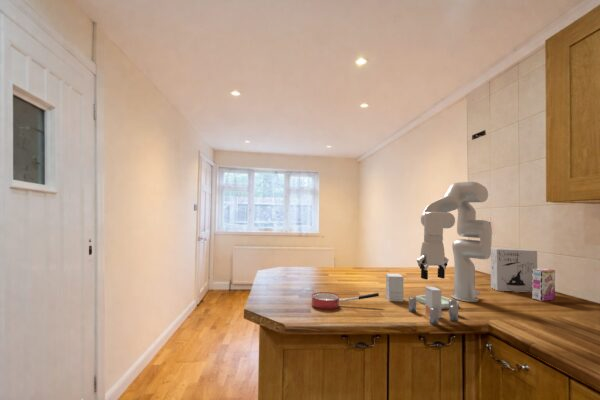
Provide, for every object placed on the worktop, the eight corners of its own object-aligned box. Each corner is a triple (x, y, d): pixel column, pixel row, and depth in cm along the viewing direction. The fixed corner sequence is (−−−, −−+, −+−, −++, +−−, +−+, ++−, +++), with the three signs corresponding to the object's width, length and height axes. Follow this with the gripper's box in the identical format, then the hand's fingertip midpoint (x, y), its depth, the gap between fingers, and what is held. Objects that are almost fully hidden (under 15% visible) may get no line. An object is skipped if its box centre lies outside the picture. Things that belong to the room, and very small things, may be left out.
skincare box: (424, 313, 124) (424, 286, 124) (433, 313, 124) (433, 286, 125) (432, 318, 118) (432, 290, 118) (441, 318, 118) (441, 290, 119)
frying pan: (371, 300, 141) (371, 287, 141) (381, 309, 128) (382, 295, 128) (309, 301, 137) (309, 288, 137) (314, 310, 124) (314, 296, 124)
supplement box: (399, 297, 146) (400, 273, 147) (403, 302, 139) (403, 276, 139) (385, 296, 147) (385, 272, 148) (388, 301, 140) (388, 276, 140)
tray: (435, 298, 146) (435, 293, 147) (459, 306, 133) (459, 301, 134) (415, 300, 141) (415, 295, 142) (437, 309, 128) (437, 304, 129)
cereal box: (497, 291, 164) (496, 249, 165) (490, 287, 171) (490, 247, 173) (538, 293, 160) (537, 250, 162) (529, 290, 168) (528, 249, 169)
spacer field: (437, 306, 133) (437, 294, 134) (471, 319, 117) (470, 305, 117) (403, 310, 126) (403, 297, 126) (434, 325, 110) (434, 310, 110)
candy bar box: (542, 302, 145) (541, 270, 146) (531, 299, 150) (531, 268, 150) (556, 300, 148) (555, 269, 149) (545, 297, 153) (544, 267, 154)
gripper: (440, 238, 129) (440, 275, 128) (411, 238, 123) (411, 277, 122) (454, 240, 122) (454, 279, 121) (424, 240, 116) (424, 281, 115)
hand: (432, 278), depth 121 cm, fingers open, 9 cm apart
